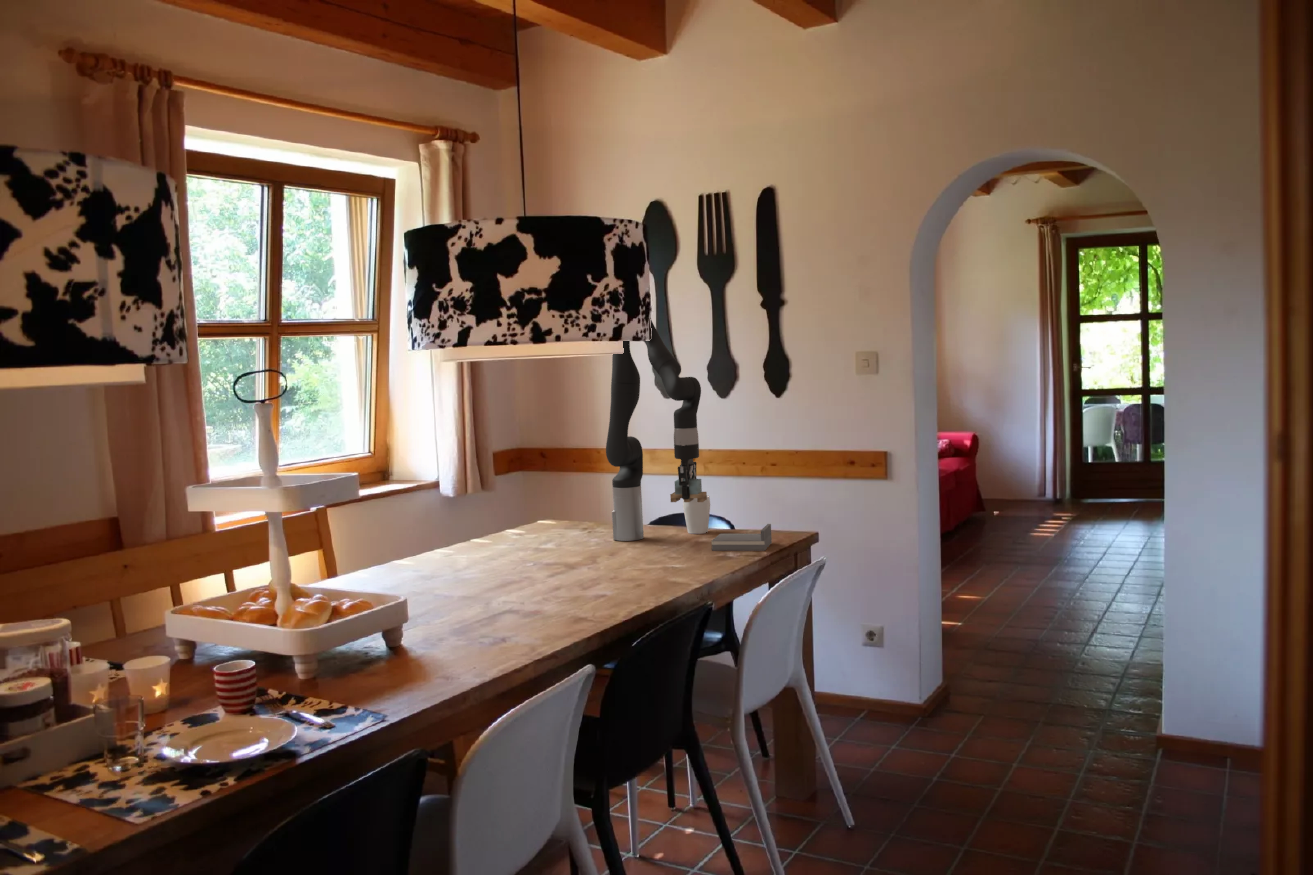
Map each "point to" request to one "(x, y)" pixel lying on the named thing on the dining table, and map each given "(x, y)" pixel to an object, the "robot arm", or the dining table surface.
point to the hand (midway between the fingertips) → (688, 497)
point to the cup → (697, 515)
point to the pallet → (699, 497)
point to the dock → (743, 541)
